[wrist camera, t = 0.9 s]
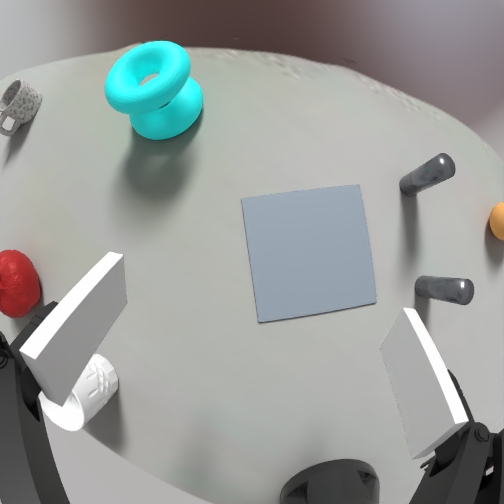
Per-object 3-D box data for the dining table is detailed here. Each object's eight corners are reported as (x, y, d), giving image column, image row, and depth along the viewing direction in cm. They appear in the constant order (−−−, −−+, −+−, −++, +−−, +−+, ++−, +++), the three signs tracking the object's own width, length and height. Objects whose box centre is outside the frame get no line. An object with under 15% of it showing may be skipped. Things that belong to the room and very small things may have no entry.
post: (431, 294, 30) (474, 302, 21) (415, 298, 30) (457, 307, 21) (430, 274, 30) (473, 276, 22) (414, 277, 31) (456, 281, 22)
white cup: (130, 398, 32) (95, 433, 22) (89, 400, 32) (51, 429, 22) (110, 345, 32) (66, 368, 22) (70, 351, 32) (25, 371, 22)
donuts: (132, 34, 23) (204, 41, 23) (157, 76, 33) (218, 90, 33) (85, 99, 23) (154, 114, 22) (122, 133, 33) (182, 152, 32)
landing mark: (376, 302, 31) (376, 302, 31) (258, 321, 31) (258, 322, 31) (358, 184, 31) (359, 184, 31) (241, 199, 32) (241, 198, 32)
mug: (31, 92, 35) (12, 78, 28) (47, 94, 34) (27, 78, 28) (7, 137, 35) (-14, 126, 28) (21, 142, 34) (-2, 131, 28)
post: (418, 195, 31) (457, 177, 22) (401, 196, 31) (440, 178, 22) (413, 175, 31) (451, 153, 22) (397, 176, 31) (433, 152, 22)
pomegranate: (37, 241, 33) (-6, 236, 24) (54, 305, 33) (10, 313, 23) (6, 263, 33) (-33, 263, 24) (20, 321, 33) (-19, 329, 24)
